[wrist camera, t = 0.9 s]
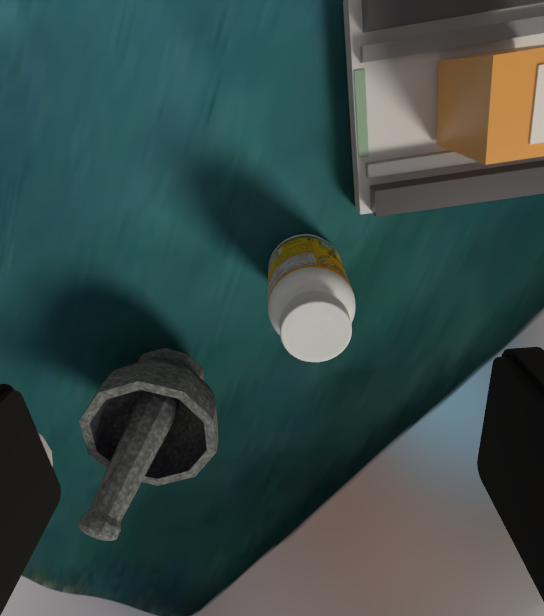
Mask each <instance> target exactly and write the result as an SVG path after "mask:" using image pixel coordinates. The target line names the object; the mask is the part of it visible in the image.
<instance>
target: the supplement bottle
mask: <svg viewBox="0 0 544 616" xmlns="http://www.w3.org/2000/svg"><path fill="white" fill-rule="evenodd" d="M268 313H269V318H270V321H271V323H272V325H273V327H274V329H275V330H276V331H277V333H278V334H279V335H280V336H281V340H282V343H283V345H284V347H285V348H286V350H287V351H288V352H289V353H290V354H291V355H293V356H294V357H296V358H298V359H300V360H303V361H307V362H322V361H326V360H329V359H332V358H334V357H336V356H337V355H338V354H340V353H341V352H342V351H343V350H344V349H345V348H346V346H347V345H348V343H349V341H350V339H351V334H352V326H351V323H352V321H353V318H354V314H355V298H354V294H353V291H352V289H351V286H350V284H349V281H348V278H347V276H346V273H345V270H344V268H343V265H342V262H341V260H340V257H339V255H338V253H337V251H336V250H335V248H334V247H333V246H332V245H331V244H330V243H329V242H327V241H326V240H324V239H322V238H321V237H318V236H316V235H312V234H299V235H295V236H292V237H289V238H287V239H286V240H284V241H283V242H281V243H280V244H279V245H278V246H277V247H276V249H275V250H274V252H273V253H272V255H271V258H270V261H269V266H268Z"/></svg>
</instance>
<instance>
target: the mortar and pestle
mask: <svg viewBox="0 0 544 616" xmlns="http://www.w3.org/2000/svg"><path fill="white" fill-rule="evenodd" d="M79 423H80V426H81V430H82V434H83V437H84V441H85V444H86V448H87V451H88V454H89V455H91V456H92V457H93V458H94V459H96V460H97V461H98V462H100V463H101V464H102V465H103V466H105V467H106V468H107V470H106V473H105V475H104V477H103V479H102V482H101V484H100V486H99V488H98V491H97V493H96V495H95V498H94V500H93V502H92V504H91V507H90V509H89V511H87V512H86V513H85V514H83V515H82V516H81V518H80V520H79V522H78V527H79V528H80V530H82V531H83V532H84V533H86V534H87V535H89V536H91V537H93V538H96V539H99V540H104V541H112V540H115V539H116V538H117V537H118V535H119V533H120V531H121V526H120V522H121V520H122V518H123V516H124V514H125V512H126V511H127V509H128V507H129V505H130V503H131V501H132V499H133V497H134V495H135V494H136V492H137V490H138V488H139V486H140V484H141V482H144V483H148V484H153V485H158V486H159V485H163V484H167V483H171V482H175V481H179V480H183V479H187V478H191V477H195V476H196V475H197V474H198V473H199V471H200V470H201V469H202V468H203V467H204V466H205V465H206V463H207V462H208V461H209V460H210V459H211V458H212V457H213V455H214V454H215V453H216V452H217V445H218V425H217V414H216V403H215V394H214V393H213V392H212V390H211V389H210V387H209V386H208V385H207V384H206V383H205V382H204V374H203V369H202V368H201V367H200V366H199V365H198V364H197V363H196V362H195V361H194V360H193V359H192V358H191V357H190V356H189V355H188V354H187V353H183V352H179V351H175V350H171V349H167V348H162V349H158V350H155V351H152V352H148V353H145V354H143V355H142V356H141V358H140V359H139V360H138V362H137V363H134V364H131V365H127V366H124V367H122V368H119V369H116V370H114V371H113V372H112V373H111V374H110V375H109V376H108V377H107V379H106V380H105V381H104V382H103V384H102V385H101V387H100V388H99V390H98V391H97V393H96V394H95V396H94V398H93V399H92V401H91V402H90V404H89V405H88V407H87V408H86V410H85V412H84V414H83V415H82V417H81V419H80V421H79Z"/></svg>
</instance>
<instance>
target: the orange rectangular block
mask: <svg viewBox="0 0 544 616" xmlns="http://www.w3.org/2000/svg"><path fill="white" fill-rule="evenodd" d="M436 145H439V146H441V147H444V148H446V149H449V150H451V151H453V152H456V153H458V154H461V155H463V156H465V157H468V158H470V159H473V160H475V161H477V162H480V163H482V164H485V165H488V164H495V163H502V162H508V161H515V160H522V159H529V158H536V157H543V156H544V44H543V45H534V46H526V47H518V48H512V49H506V50H500V51H493V52H487V53H481V54H475V55H469V56H463V57H456V58H450V59H444V60H438V95H437V139H436Z"/></svg>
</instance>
